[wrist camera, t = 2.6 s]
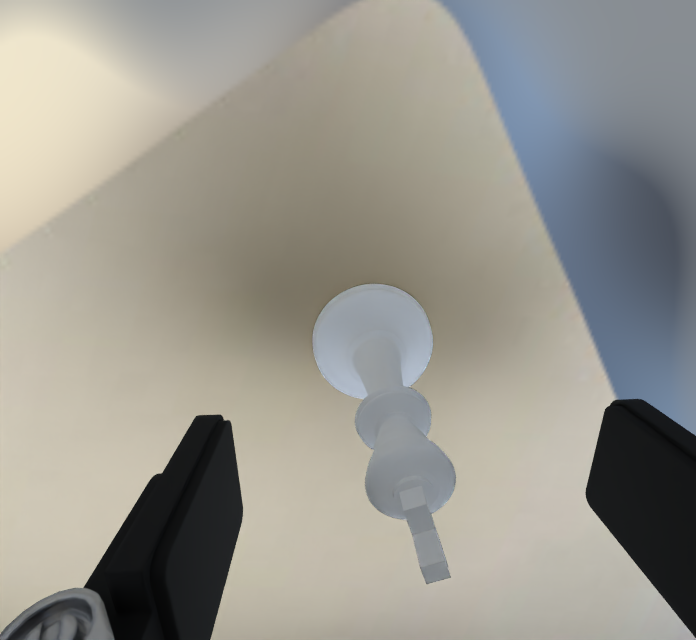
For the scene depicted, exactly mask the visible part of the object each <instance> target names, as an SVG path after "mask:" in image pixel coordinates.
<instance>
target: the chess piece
mask: <svg viewBox="0 0 696 640" xmlns="http://www.w3.org/2000/svg"><path fill="white" fill-rule="evenodd" d="M312 345H313V352H314V356H315V360H316V363H317V366H318V368H319V370H320V372H321V373H322V375H323V376H324V378H325V379H326V380H327V381H328V382H329V383H330V384H331V385H332V386H333V387H334V388H336V389H337V390H339V391H341V392H342V393H344V394H347V395H349V396H352V397H356V398H360V399H364V400H363V401H362V402H361V403H360V405H359V407H358V409H357V412H356V416H355V426H356V430H357V432H358V434H359V436H360V437H361V439H362V440H363V442H364V443H365V444H366V445H367V446H368V447H370V448H371V449H373V450H374V451H373V455H372V457H371V459H370V461H369V464H368V468H367V472H366V477H365V489H366V493H367V496H368V498H369V500H370V502H371V503H372V505H373V506H374V507H375V508H376V509H377V510H379V511H380V512H382V513H383V514H385V515H387V516H390V517H393V518H397V519H405V520H407V522H408V525H409V527H410V530H411V533H412V535H413V540H414V544H415V548H416V552H417V556H418V561H419V565H420V568H421V571H422V574H423V576H424V579H425V582H426V584H429V583H433V582H436V581H440V580H444V579H447V578H451V576H450V573H449V570H448V564H447V561H446V558H445V555H444V552H443V548H442V545H441V542H440V539H439V537H438V534H437V531H436V528H435V525H434V522H433V518H432V515H431V514H432V513H434V512H436V511H437V510H438V509H440V508H441V507H442V506H443V505H444V504H445V503H446V502H447V501H448V500H449V498H450V497H451V495H452V493H453V491H454V487H455V482H456V475H455V470H454V467H453V464H452V463H451V461H450V459H449V458H448V457H447V455H446V454H445V453H444V452H443V451H442V450H441V449H440V448H439V447H438V446H437V445H436V444H435V443H433V442H432V441H430V440H429V439H428V438H427V437H426V436H427V434H428V432H429V429H430V426H431V410H430V406H429V404H428V402H427V401H426V399H425V398H424V397H423V396H422V395H421V394H420V393H419V392H417V391H416V390H414V389H411V388H409V387H410V386H411V385H412V384H413V383H414V382H416V381H417V379H418V378H419V377H420V376H421V375H422V373H423V372H424V370H425V369H426V367H427V365H428V363H429V360H430V357H431V354H432V348H433V336H432V330H431V327H430V323H429V320H428V317H427V315H426V313H425V311H424V309H423V308H422V307H421V305H420V304H419V303H418V302H417V301H416V300H415V299H414V298H413V297H412V296H411V295H409V294H408V293H406V292H404V291H403V290H401V289H398V288H396V287H393V286H389V285H384V284H364V285H359V286H356V287H353V288H350V289H348V290H345V291H343V292H342V293H340V294H339V295H337V296H336V297H334V298H333V299H332V300H331V301H330V302H329V303H328V304H327V305H326V306H325V307H324V309H323V310H322V311H321V313H320V315H319V316H318V318H317V321H316V323H315V326H314V330H313V337H312Z"/></svg>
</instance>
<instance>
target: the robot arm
mask: <svg viewBox="0 0 696 640" xmlns="http://www.w3.org/2000/svg"><path fill="white" fill-rule="evenodd" d="M586 498H587V501H588V504H589V505H590V507H591V508H592V510H593V511H594V512H595V513H596V515H597V516H598V517H599V518H600V520H601V521H602V522H603V523H604V525H605V526H606V527H607V528H608V529H609V531H610V532H611V533H612V534H613V536H614V537H615V538H616V539H617V541H618V542H619V543H620V544H621V546H622V547H623V548H624V549H625V551H626V552H627V553H628V554H629V556H630V557H631V558H632V559H633V561H634V562H635V563H636V564H637V566H638V567H639V568H640V569H641V571H642V572H643V573H644V574H645V575H646V577H647V578H648V579H649V580H650V582H651V583H652V584H653V585H654V587H655V588H656V589H657V590H658V592H659V593H660V594H661V595H662V597H663V598H664V599H665V600H666V602H667V603H668V604H669V605H670V607H671V608H672V609H673V610H674V612H675V613H676V614H677V615H678V617H679V618H680V619H681V620H682V621H683V623H684V624H685V625H686V626H687V628H688V629H689V630H690V631H691V633H692V634H693V635H694V636H695V638H696V436H695V435H694V434H692V433H691V432H689V431H688V430H686V429H685V428H683V427H682V426H681V425H679V424H678V423H676V422H674V421H673V420H672V419H670V418H669V417H667V416H666V415H665V414H663V413H662V412H660V411H659V410H657V409H656V408H654V407H653V406H651V405H650V404H648V403H647V402H645V401H644V400H641V399H628V400H615V401H613V402H612V403H611V405H610V406H609V407H607V408H606V409H605V412H604V415H603V420H602V424H601V428H600V432H599V437H598V441H597V445H596V449H595V454H594V458H593V462H592V466H591V470H590V475H589V479H588V483H587V487H586ZM242 517H243V505H242V497H241V490H240V483H239V476H238V469H237V461H236V454H235V447H234V440H233V433H232V426H231V422H230V421H229V420H226V421H224V419H223V417H222V415H198V416H196V417H195V419H194V420H193V422H192V424H191V425H190V427H189V429H188V430H187V432H186V434H185V435H184V437H183V439H182V441H181V442H180V444H179V446H178V447H177V449H176V451H175V452H174V454H173V456H172V458H171V459H170V461H169V463H168V464H167V466H166V468H165V469H164V471H163V473H162V474H156V475H155V476H153V477H152V479H151V480H150V481H149V483H148V484H147V486H146V487H145V489H144V491H143V492H142V494H141V496H140V497H139V499H138V500H137V502H136V504H135V505H134V507H133V508H132V510H131V512H130V513H129V515H128V517H127V518H126V520H125V521H124V523H123V525H122V526H121V528H120V530H119V531H118V533H117V534H116V536H115V538H114V539H113V541H112V542H111V544H110V546H109V547H108V549H107V551H106V552H105V554H104V555H103V557H102V559H101V560H100V562H99V564H98V565H97V567H96V568H95V570H94V572H93V573H92V575H91V576H90V578H89V580H88V581H87V583H86V585H85V586H84V588H72V589H68V590H64V591H59V592H57V593H55V594H52V595H50V596H48V597H46V598H44V599H42V600H40V601H38V602H37V603H35V604H34V605H32V606H31V607H29V608H28V609H26V610H25V611H23V612H22V613H21V614H20V615H19V616H18V617H17V618H15V619H14V620H13V621H12V622H11V623H10V624H9V625H8V626H7V627H6V628H5V629H4V630H3V632H2V633H1V634H0V640H210V639H211V635H212V631H213V628H214V624H215V620H216V616H217V613H218V609H219V605H220V601H221V598H222V594H223V590H224V586H225V583H226V579H227V575H228V572H229V568H230V564H231V560H232V557H233V553H234V549H235V545H236V542H237V538H238V534H239V531H240V527H241V523H242Z"/></svg>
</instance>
